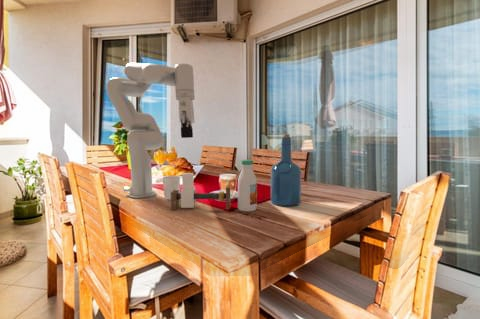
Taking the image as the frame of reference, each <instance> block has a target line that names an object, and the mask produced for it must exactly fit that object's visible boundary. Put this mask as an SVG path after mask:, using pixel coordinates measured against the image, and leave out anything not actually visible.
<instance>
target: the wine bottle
mask: <svg viewBox="0 0 480 319" xmlns="http://www.w3.org/2000/svg"><path fill="white" fill-rule="evenodd" d="M280 145H281V153H280V154H281V156H280V157H281V158H280V161H278V162H276V163H275V164H273V165H272V167H271V169H270V202H271V203H272V204H274V205H276V206H280V207H293V206H297V205H299V204H301V203H302V178H303V177H302V171H303V170H302V169H301V167H300V165H298V164H297V163H295V162H293V160H292V137H291V136H290V133H284V134H283V136H282V138H281V144H280Z"/></svg>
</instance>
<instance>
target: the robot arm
mask: <svg viewBox="0 0 480 319" xmlns="http://www.w3.org/2000/svg"><path fill="white" fill-rule="evenodd" d="M123 71H124V75H125V77H126V78H125V77H118V76H117V77H112V78H110V79H108V81H107V83H106V93H107V94H106V95H107V97H108V98H109V99H108V100H110V103H111V104H112V106H113V107H114V108H115V111H116V112H117V115H118V117H119V119H120V122H121V124H122V126H123V128H124V129H125V130H126V131H127V132H130V133H129V134H128V135H127V138H126V143H127V147H128V151H129V152H128V153H129V160H130V161H129V162H130V176H131V177H130V178H131V180H130V181H131V186H124V187H123V192H129V193H128V197H129V198H133V199H134V198H135V199H143V198H150V197H154V196H156V194H157V193H156V190H153V170H152V158H151V156H150V154H149V152H148V151H152V150H153V151H155V150H159V149H161V148H162V147H163V145H164V136H163V135H162V132H161V130H160V128H159V126H158V124H157V122H156V119H155V118H154V116H153V115H152V114H150V113H146V112H139V111H137V109H136V108H135V105H134V103H133V102H132V101H131V100H130V99H129V98H127V97H133V98H134V97H135V98H139V97H142V96H143V95H144V94H145V93H147V91H148V90H149V88H151V86H152V85H153V84H158V85H164V86H169V87H174V88H175V100H176V101H178V119H179V122H180V135H181V136H180V137H181V138H183V139H184V138H187V139H188V138H189V139H190V138H193V137H194V133H193V130H194V129H193V124H195V113H194V112H195V110H194V102H193V101H194V100H195V99H196V98H195V85H194V84H195V81H194V80H195V79H194V67H193V66H192V65H191V64H188V63H178V64H175V66H174V67H172V66H168V65H164V64H157V63H150V62H149V63H141V62H129V63H127V64H126V65H125V67H124V70H123Z"/></svg>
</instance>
